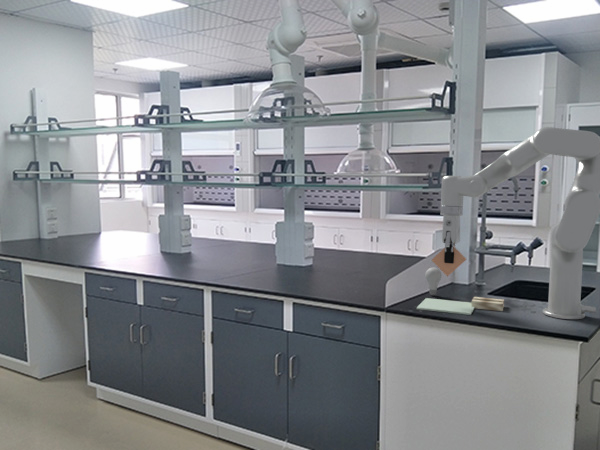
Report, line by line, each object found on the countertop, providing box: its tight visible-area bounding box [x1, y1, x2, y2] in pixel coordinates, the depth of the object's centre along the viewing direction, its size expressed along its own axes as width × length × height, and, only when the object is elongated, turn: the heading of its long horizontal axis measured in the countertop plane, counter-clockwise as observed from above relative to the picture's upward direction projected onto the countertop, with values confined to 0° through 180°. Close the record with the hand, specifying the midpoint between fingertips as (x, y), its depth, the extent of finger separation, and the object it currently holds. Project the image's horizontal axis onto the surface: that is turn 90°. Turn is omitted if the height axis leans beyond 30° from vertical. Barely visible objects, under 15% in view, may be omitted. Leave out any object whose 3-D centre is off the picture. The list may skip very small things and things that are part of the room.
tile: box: [431, 245, 467, 278], centre depth 190 cm, size 8×2×9 cm
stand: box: [470, 296, 505, 312], centre depth 189 cm, size 10×7×2 cm
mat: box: [416, 297, 476, 316], centre depth 189 cm, size 18×16×1 cm
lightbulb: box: [424, 267, 443, 297], centre depth 206 cm, size 6×6×11 cm
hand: (449, 262), depth 190 cm, fingers closed on tile, 1 cm apart
